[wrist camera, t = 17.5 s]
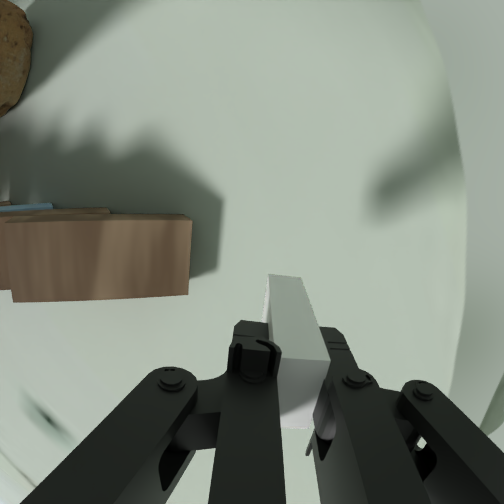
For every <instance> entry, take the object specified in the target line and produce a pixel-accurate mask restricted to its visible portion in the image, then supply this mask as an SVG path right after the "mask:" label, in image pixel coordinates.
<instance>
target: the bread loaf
mask: <svg viewBox="0 0 504 504" xmlns="http://www.w3.org/2000/svg"><path fill="white" fill-rule="evenodd" d="M32 40H33V32H32V30H31V27H30V25H29V21H28V20H27V18H26V14H25V12H24V11H23V10H22V9H21V8H19V7H18V6H17V5H15V4H13V3H12V2H10V1H8V0H0V117H2V116H3V115H4V114H6V112H7V111H8V109H10V108H11V107H12V106H13V105H15V104H16V103H17V101H18V100H19V98H20V96H21V93H22V90H23V88H24V86H25V83H26V79H27V76H28V73H29V69H30V61H31V52H30V48H31V47H32Z"/></svg>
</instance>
